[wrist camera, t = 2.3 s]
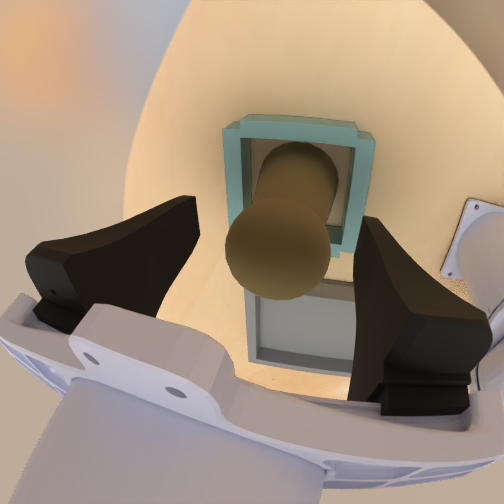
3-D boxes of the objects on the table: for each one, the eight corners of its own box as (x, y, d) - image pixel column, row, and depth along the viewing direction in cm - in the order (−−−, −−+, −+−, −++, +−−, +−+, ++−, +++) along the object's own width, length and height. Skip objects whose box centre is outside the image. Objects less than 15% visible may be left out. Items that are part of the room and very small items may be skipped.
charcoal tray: (412, 290, 25) (415, 309, 23) (375, 362, 32) (375, 379, 30) (250, 268, 28) (243, 286, 26) (253, 345, 36) (248, 361, 34)
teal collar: (370, 125, 17) (376, 132, 15) (352, 241, 23) (353, 259, 21) (233, 114, 19) (222, 120, 18) (239, 227, 25) (230, 243, 23)
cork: (293, 226, 24) (265, 331, 16) (244, 172, 22) (183, 256, 14) (353, 188, 21) (364, 289, 12) (303, 125, 19) (277, 184, 10)
